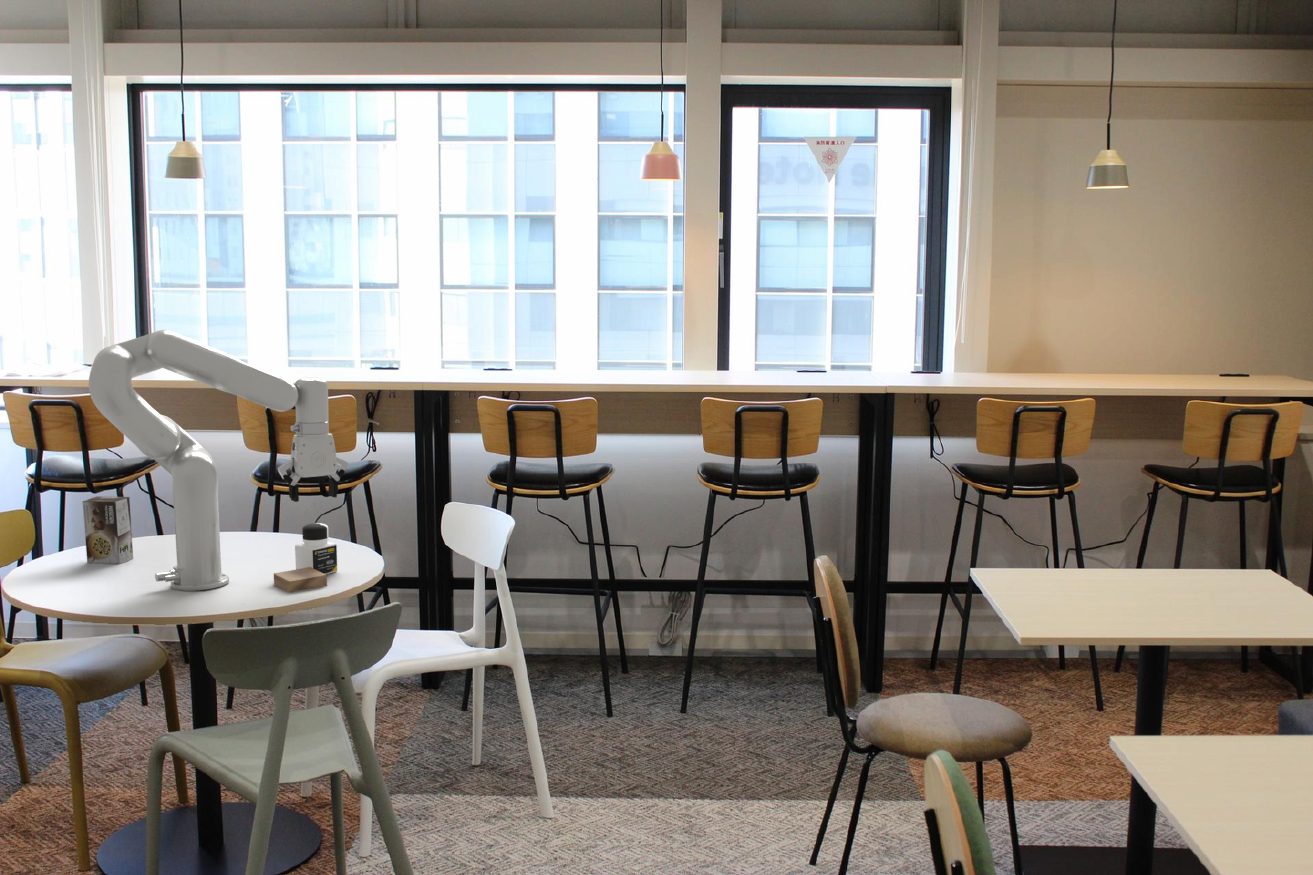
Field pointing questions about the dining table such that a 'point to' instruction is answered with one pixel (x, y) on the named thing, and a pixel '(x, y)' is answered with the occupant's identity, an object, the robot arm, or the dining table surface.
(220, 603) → the dining table surface
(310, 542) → the medicine bottle
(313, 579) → the walnut riser block
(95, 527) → the coffee box
